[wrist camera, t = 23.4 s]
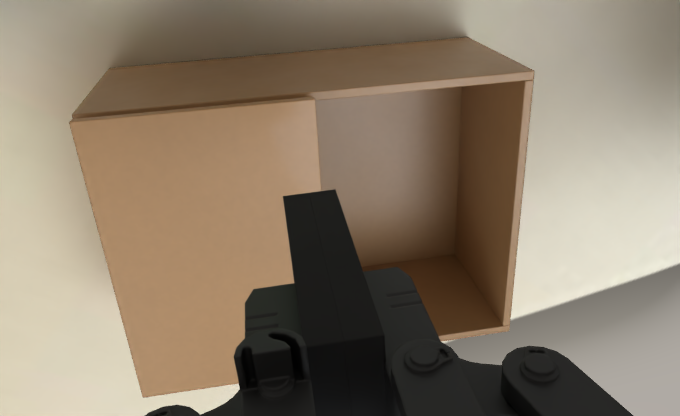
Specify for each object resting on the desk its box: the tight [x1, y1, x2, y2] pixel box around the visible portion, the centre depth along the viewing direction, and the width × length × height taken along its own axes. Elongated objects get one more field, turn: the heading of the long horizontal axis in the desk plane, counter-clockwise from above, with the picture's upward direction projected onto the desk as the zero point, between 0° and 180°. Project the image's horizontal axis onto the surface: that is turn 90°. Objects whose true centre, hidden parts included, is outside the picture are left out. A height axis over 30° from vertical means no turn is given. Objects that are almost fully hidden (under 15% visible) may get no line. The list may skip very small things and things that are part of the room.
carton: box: [72, 37, 534, 341], centre depth 30 cm, size 19×14×8 cm
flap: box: [69, 97, 322, 397], centre depth 26 cm, size 9×14×1 cm
